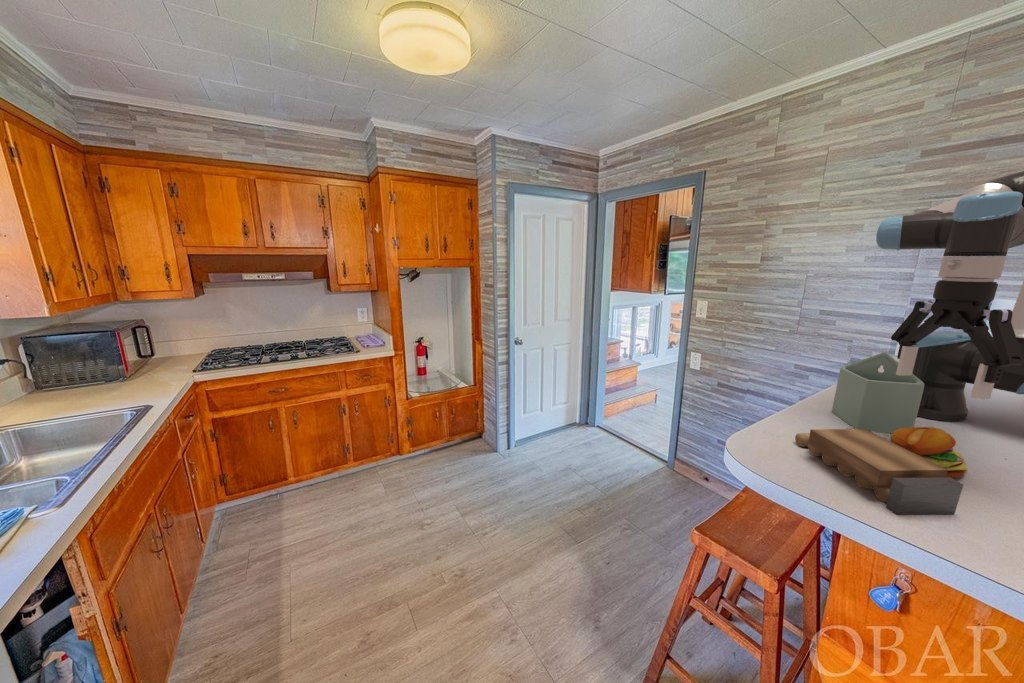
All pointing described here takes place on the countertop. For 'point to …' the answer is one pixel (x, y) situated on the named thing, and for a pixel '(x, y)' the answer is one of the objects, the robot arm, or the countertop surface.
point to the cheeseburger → (932, 447)
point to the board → (872, 456)
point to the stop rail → (924, 496)
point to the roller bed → (841, 467)
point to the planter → (877, 395)
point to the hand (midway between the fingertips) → (938, 385)
